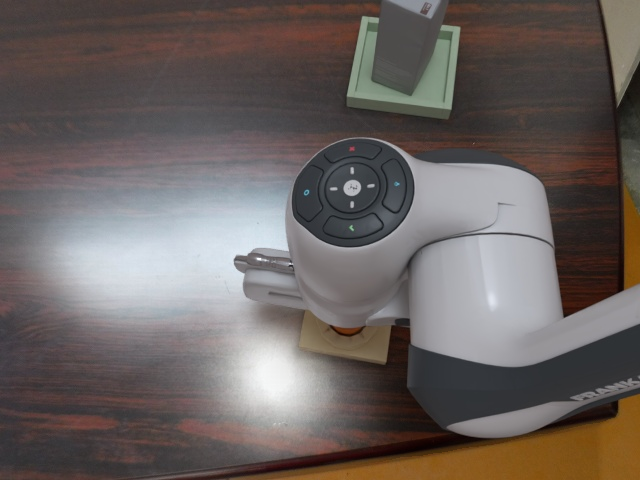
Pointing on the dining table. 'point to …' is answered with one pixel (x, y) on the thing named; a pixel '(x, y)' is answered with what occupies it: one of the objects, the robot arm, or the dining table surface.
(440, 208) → the robot arm
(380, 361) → the orange push button box
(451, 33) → the shallow square tray
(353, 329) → the button
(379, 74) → the cosmetic box
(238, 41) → the dining table surface
